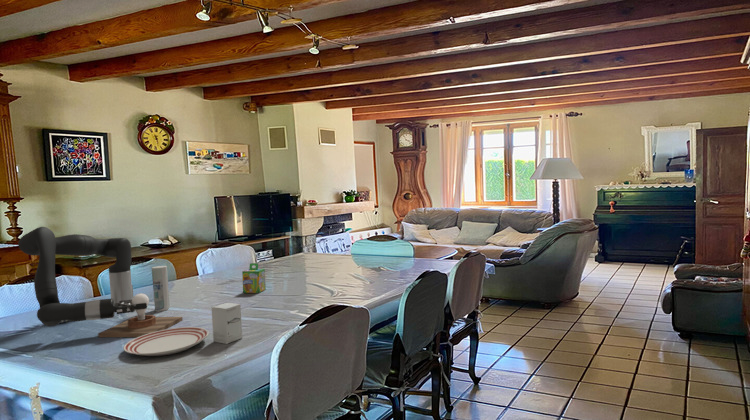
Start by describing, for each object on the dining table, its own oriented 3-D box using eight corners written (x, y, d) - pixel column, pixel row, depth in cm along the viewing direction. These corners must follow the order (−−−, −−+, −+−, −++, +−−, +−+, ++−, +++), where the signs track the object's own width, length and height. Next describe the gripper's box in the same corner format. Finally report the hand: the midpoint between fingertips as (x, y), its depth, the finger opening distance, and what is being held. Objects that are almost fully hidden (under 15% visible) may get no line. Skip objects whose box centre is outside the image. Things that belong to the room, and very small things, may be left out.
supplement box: (227, 344, 169) (224, 308, 168) (212, 341, 173) (210, 306, 172) (243, 338, 175) (241, 303, 174) (229, 335, 179) (227, 302, 178)
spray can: (151, 311, 222) (148, 267, 221) (162, 307, 228) (159, 265, 227) (162, 311, 220) (159, 268, 219) (173, 308, 226) (170, 265, 225)
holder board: (134, 320, 207) (133, 311, 206) (182, 320, 204) (181, 310, 203) (98, 337, 185) (97, 326, 185) (151, 336, 182) (151, 326, 182)
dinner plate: (124, 368, 151) (123, 357, 151) (123, 344, 175) (123, 335, 175) (215, 350, 163) (214, 341, 163) (203, 330, 188) (202, 322, 188)
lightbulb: (136, 319, 197) (134, 292, 196) (152, 318, 197) (151, 291, 197) (130, 323, 191) (128, 295, 190) (146, 322, 191) (145, 295, 191)
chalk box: (242, 293, 251) (241, 265, 250) (250, 289, 260) (248, 262, 259) (259, 293, 249) (257, 264, 249) (266, 289, 258) (264, 261, 258)
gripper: (96, 303, 181) (145, 298, 188) (101, 296, 195) (147, 291, 201) (97, 323, 182) (146, 317, 188) (103, 314, 195) (148, 309, 201)
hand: (147, 303), depth 195 cm, fingers closed on lightbulb, 6 cm apart
